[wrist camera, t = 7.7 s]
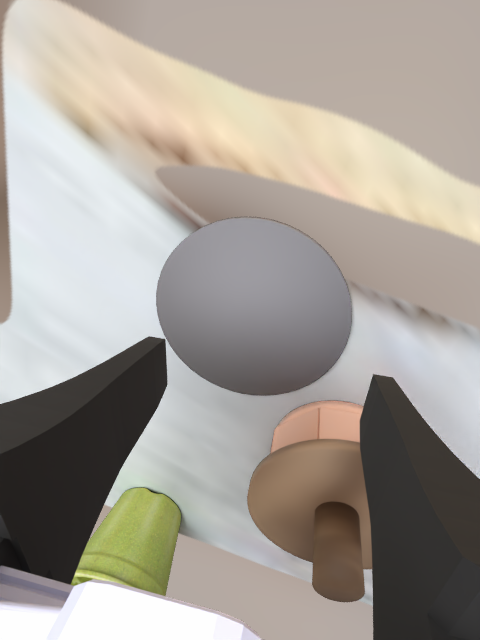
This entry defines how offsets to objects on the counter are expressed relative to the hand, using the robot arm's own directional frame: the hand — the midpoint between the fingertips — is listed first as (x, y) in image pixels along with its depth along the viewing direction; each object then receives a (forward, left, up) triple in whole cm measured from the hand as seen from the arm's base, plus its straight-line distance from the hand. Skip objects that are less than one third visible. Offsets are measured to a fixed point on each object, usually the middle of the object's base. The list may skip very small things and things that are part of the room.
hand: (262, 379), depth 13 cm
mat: (+2, +3, -10) cm, 11 cm away
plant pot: (+10, +25, -10) cm, 29 cm away
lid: (-5, +13, -5) cm, 15 cm away
